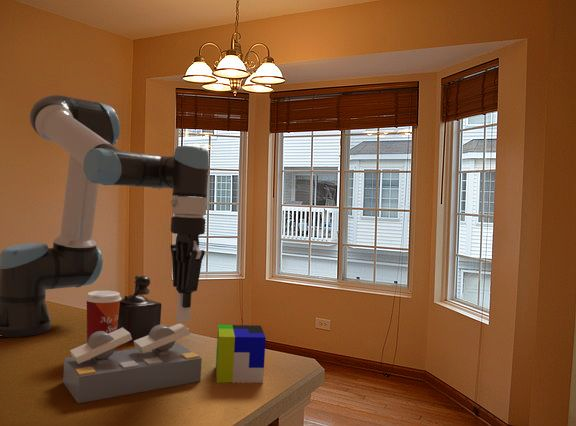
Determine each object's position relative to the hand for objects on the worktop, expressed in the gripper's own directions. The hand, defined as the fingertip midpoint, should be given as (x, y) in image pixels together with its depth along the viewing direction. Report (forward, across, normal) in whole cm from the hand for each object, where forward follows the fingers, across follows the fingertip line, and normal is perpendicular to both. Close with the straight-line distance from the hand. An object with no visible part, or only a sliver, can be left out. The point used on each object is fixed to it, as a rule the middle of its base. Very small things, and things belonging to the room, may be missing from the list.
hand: (183, 320), depth 113 cm
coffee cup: (+12, -19, -12) cm, 25 cm away
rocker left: (+5, 0, -17) cm, 18 cm away
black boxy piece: (+12, -30, +1) cm, 32 cm away
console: (+11, +1, -11) cm, 16 cm away
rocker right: (+6, 0, -4) cm, 7 cm away
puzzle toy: (+12, +7, +11) cm, 18 cm away
